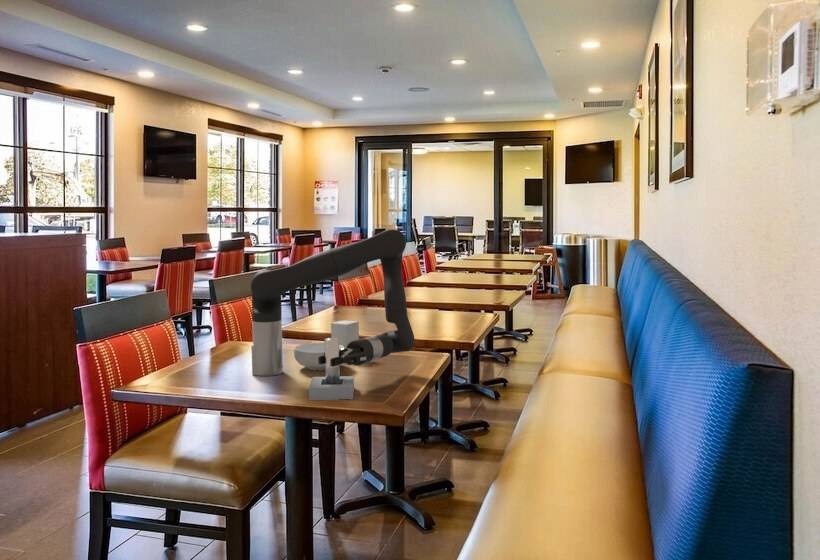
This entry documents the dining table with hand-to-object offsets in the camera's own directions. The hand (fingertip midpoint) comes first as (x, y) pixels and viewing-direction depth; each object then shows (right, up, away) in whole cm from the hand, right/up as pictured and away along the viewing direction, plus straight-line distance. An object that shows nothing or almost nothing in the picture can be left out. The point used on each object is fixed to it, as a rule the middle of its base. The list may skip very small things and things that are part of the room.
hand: (325, 361), depth 182 cm
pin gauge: (+2, -8, +3) cm, 8 cm away
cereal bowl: (-6, -7, +35) cm, 36 cm away
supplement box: (+1, -5, +51) cm, 51 cm away
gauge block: (+2, -10, +3) cm, 10 cm away
